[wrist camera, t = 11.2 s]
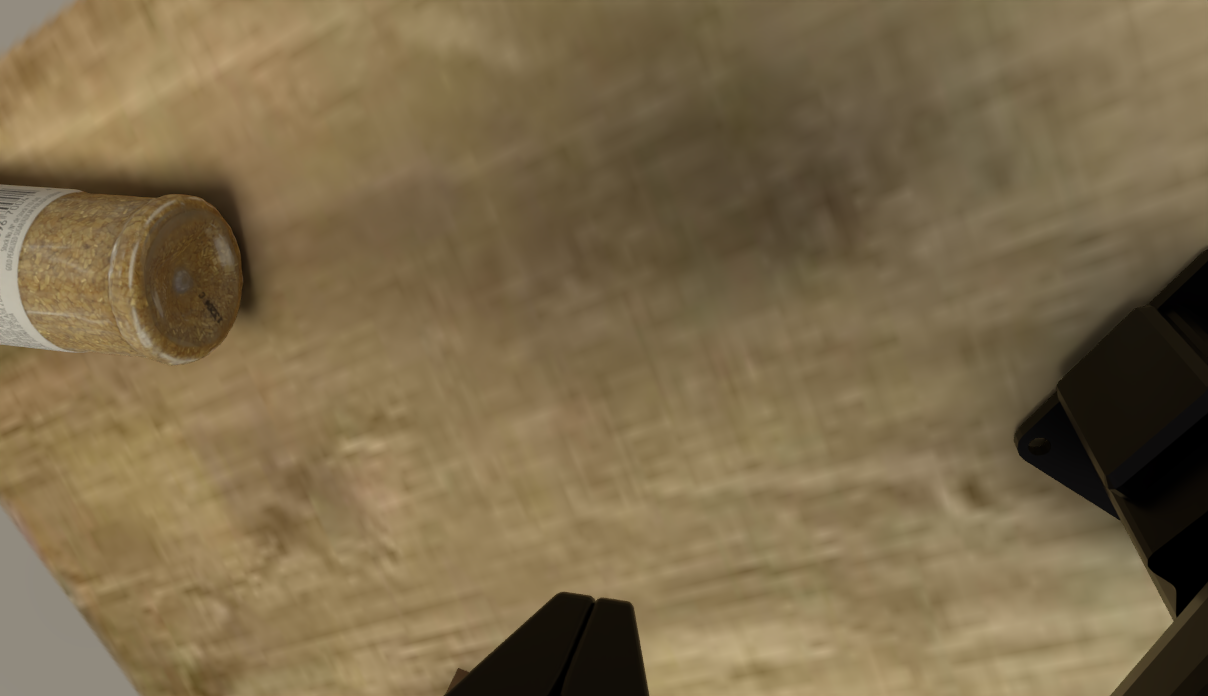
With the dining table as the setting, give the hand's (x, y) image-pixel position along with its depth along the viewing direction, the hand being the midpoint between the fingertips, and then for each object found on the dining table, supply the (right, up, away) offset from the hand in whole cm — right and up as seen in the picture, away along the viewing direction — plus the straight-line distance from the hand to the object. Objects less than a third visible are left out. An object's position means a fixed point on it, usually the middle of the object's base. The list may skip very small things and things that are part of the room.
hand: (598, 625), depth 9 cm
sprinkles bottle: (-10, +5, +12) cm, 17 cm away
